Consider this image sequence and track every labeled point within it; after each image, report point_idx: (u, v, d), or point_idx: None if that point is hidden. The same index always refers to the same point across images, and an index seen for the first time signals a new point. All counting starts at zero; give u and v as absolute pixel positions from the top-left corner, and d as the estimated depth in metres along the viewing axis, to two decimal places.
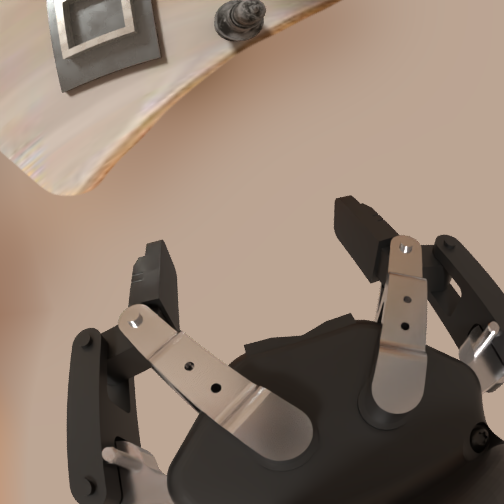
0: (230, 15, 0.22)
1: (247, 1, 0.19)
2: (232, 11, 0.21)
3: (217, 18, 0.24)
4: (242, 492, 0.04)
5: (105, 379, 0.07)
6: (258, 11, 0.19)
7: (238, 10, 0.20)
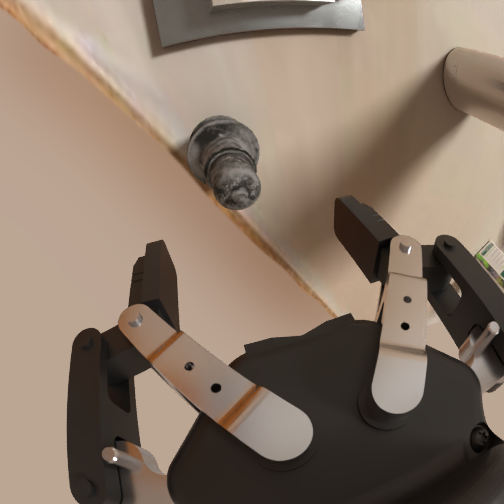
0: (227, 149, 0.18)
1: (254, 182, 0.16)
2: (235, 151, 0.18)
3: (224, 124, 0.20)
4: (242, 492, 0.04)
5: (105, 379, 0.07)
6: (235, 202, 0.16)
7: (235, 169, 0.16)
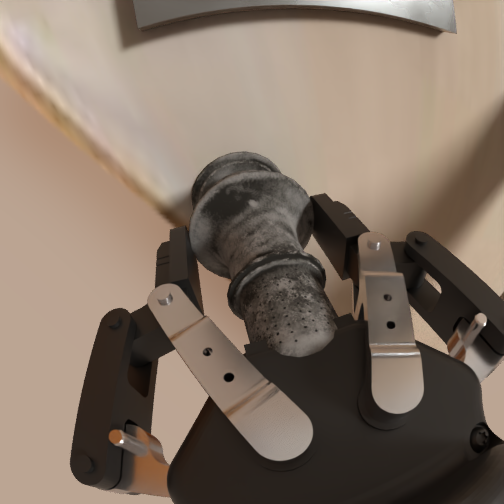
0: (278, 257, 0.09)
1: None
2: (293, 261, 0.09)
3: (259, 180, 0.11)
4: (239, 498, 0.04)
5: (127, 362, 0.07)
6: None
7: (310, 337, 0.07)
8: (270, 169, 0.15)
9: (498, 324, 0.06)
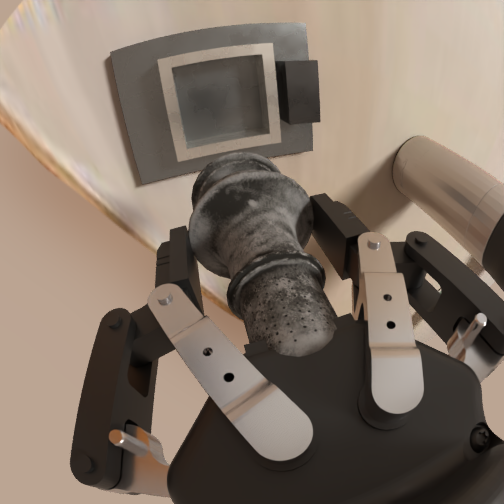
0: (277, 257, 0.09)
1: None
2: (292, 261, 0.09)
3: (258, 180, 0.11)
4: (239, 498, 0.04)
5: (127, 361, 0.07)
6: None
7: (309, 337, 0.07)
8: (270, 169, 0.15)
9: (498, 324, 0.06)
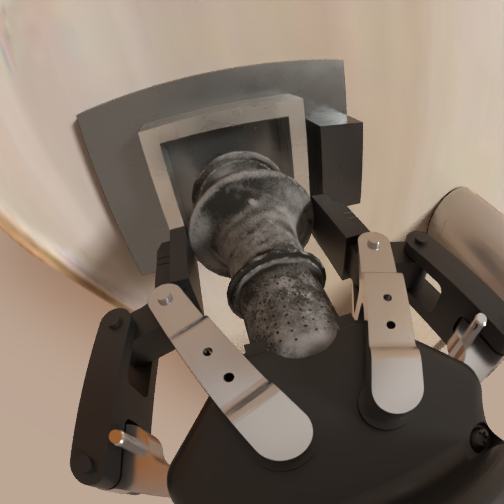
0: (277, 256, 0.09)
1: None
2: (293, 260, 0.09)
3: (258, 178, 0.11)
4: (239, 498, 0.04)
5: (127, 361, 0.07)
6: None
7: (310, 336, 0.07)
8: (270, 168, 0.15)
9: (498, 324, 0.06)
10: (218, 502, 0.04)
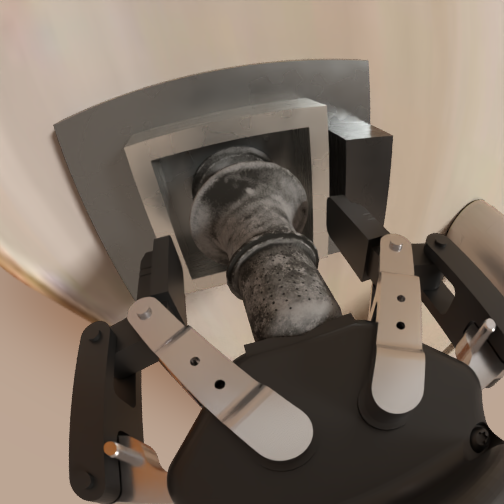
0: (273, 236, 0.10)
1: None
2: (287, 240, 0.10)
3: (255, 169, 0.12)
4: (241, 494, 0.04)
5: (112, 373, 0.07)
6: None
7: (304, 305, 0.08)
8: None
9: None
10: (221, 501, 0.04)
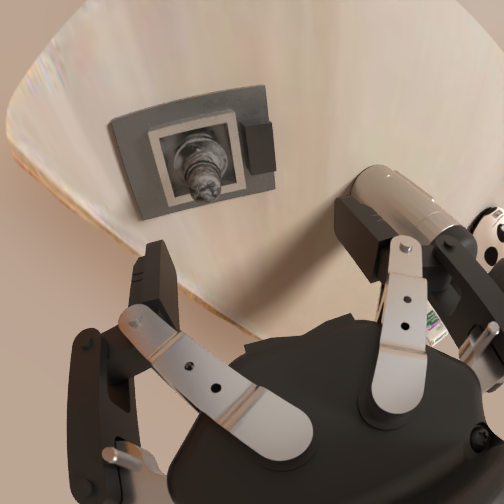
0: (200, 161, 0.25)
1: (216, 185, 0.24)
2: (206, 163, 0.26)
3: (201, 141, 0.28)
4: (242, 492, 0.04)
5: (105, 379, 0.07)
6: (203, 198, 0.24)
7: (203, 176, 0.23)
8: None
9: None
10: (223, 500, 0.04)
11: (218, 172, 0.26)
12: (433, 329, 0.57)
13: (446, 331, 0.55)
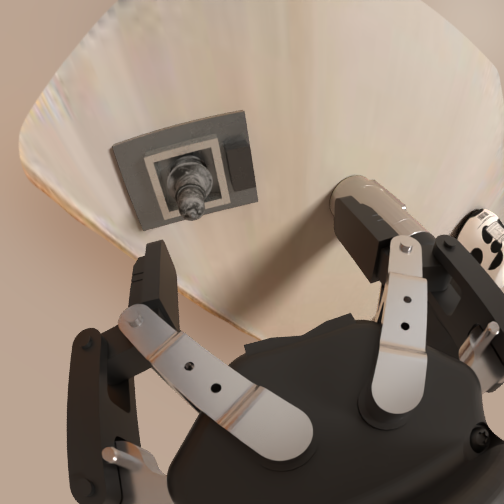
0: (188, 184, 0.31)
1: (200, 205, 0.29)
2: (192, 185, 0.31)
3: (189, 165, 0.33)
4: (242, 492, 0.04)
5: (105, 379, 0.07)
6: (189, 216, 0.29)
7: (189, 198, 0.29)
8: (199, 162, 0.37)
9: None
10: (223, 500, 0.04)
11: (203, 192, 0.32)
12: None
13: None
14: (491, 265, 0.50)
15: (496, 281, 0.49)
